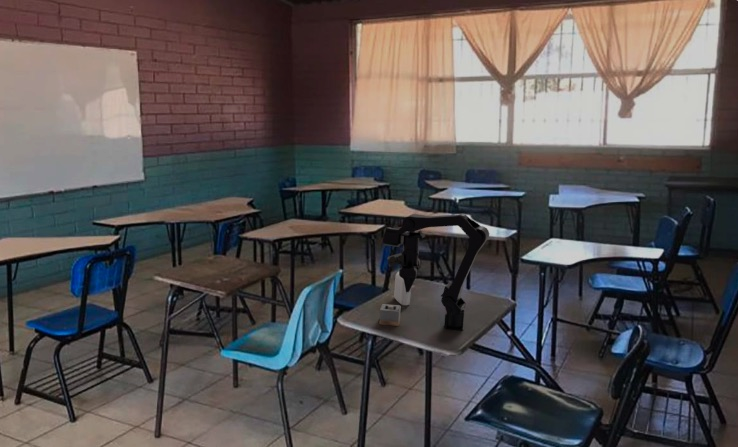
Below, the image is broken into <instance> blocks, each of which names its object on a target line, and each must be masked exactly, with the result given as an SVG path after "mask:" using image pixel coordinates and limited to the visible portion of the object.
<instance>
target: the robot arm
mask: <svg viewBox="0 0 738 447" xmlns="http://www.w3.org/2000/svg"><path fill="white" fill-rule="evenodd" d="M454 226H455V227H457V226H458V227H459V228H460V230H462V231H463V233H464V234H465V235H466V236H467V237H468V241H467V246H466V248H467V249H466V251H465V254H464V256H463V258H462V260H461V262H460V265H459V266H458V269H457V272H456V274H455V276H454V278H453V280H452V283H451V282H448V283H447V284H446V285H445V286H444V288H443V291H442V292H443V293H442V294H441V295H440V297H441V299H440V300H441V304H442V306H444V308H445V311H446V312H445V314H444V324H443V325H444V326H445V329H447V330H459V331H463V330H464V325H465V324H464V323H465V322H464V321H465V307H466V306H467V303H466V302H465V300H464V299H463V298H462V294H463V289H464V284H465V282H466V279H467V277H468V275H469V273H470V271H471V269H472V266H473V264H474V262H475V259H476V257H477V255H478V253H479V252H480V250H481V249H482V247H483V246H484V245H485V244H486V242H487V240H488V239H489V237H490V231H489V229H488V228H487V227H485V226H483V225H480V224H479V223H478V222H476V221H475V220H473V219H472V218H470V217H469V216H468V215H467V214H465V213H458V214H447V215H446V214H445V215H443V214H442V215H425V214H418V213H417V214H416V213H412V214H410V215H408V216H406V217H405V218H404V219H403V221H402V225H401V226H400V227H398V228H393V227H389V226H387V227H385V231H384V234H383V236H382V244H383V245H384V246H391V247H397V248H399V247H400V246H401V245H403V246H402V247H403V248H402V251H401V252H400V253H396V254H392V255H389V256H387V264H388V266H389V267H390V268H391V267H394V266H398V265H400V268H399V269H398V272H399V276H400V277H402V278H403V279H404V283H405V289H406V292H409V291H410V289H411V290H412V286H413V285H414V283H415V280H416V278H417V275H418V274H417V273H418V271H419V268H420V266H421V265H420V264H421V262H420V261H421V259H420V258H419V252H420V248H419V247H420V239H423V238H425V233H423V232H422V230H424V229H427V228H439V227H440V228H441V227H454ZM407 232H408V233H407Z"/></svg>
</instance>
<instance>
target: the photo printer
mask: <svg viewBox="0 0 738 447" xmlns="http://www.w3.org/2000/svg"><path fill="white" fill-rule="evenodd" d="M394 276H395V277H394V278H395V280H394V295H393V296H394V297H393V298H394V299H395V301H397V302H398V303H399V304H400V305H401V306H409V305H410V304H411V292H412V288H411V289H410V291H409V292H406V289H405V283H404V279H403V278H402V277H400V276H399V271H397V272H396V274H395V275H394Z"/></svg>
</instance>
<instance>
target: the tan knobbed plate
mask: <svg viewBox="0 0 738 447" xmlns="http://www.w3.org/2000/svg"><path fill="white" fill-rule="evenodd" d="M388 309H390V310H393V306H388ZM400 322H401V317H400V318H399V322H393V321H382V320H380V319H379V325H385V326H395V327H398V326H400V325H399V324H400Z"/></svg>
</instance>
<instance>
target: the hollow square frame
mask: <svg viewBox="0 0 738 447" xmlns="http://www.w3.org/2000/svg"><path fill="white" fill-rule="evenodd" d="M388 306H393V310H390V309H388ZM401 306H402V305H401V304H400V305H398V304H387V303H382V305H381V306H380V309H379V321H380V320H382V321H393V322H399V318H400V319H401V313H402V312H401V311H402V309H401V308H402V307H401ZM399 323H400V322H399Z"/></svg>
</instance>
